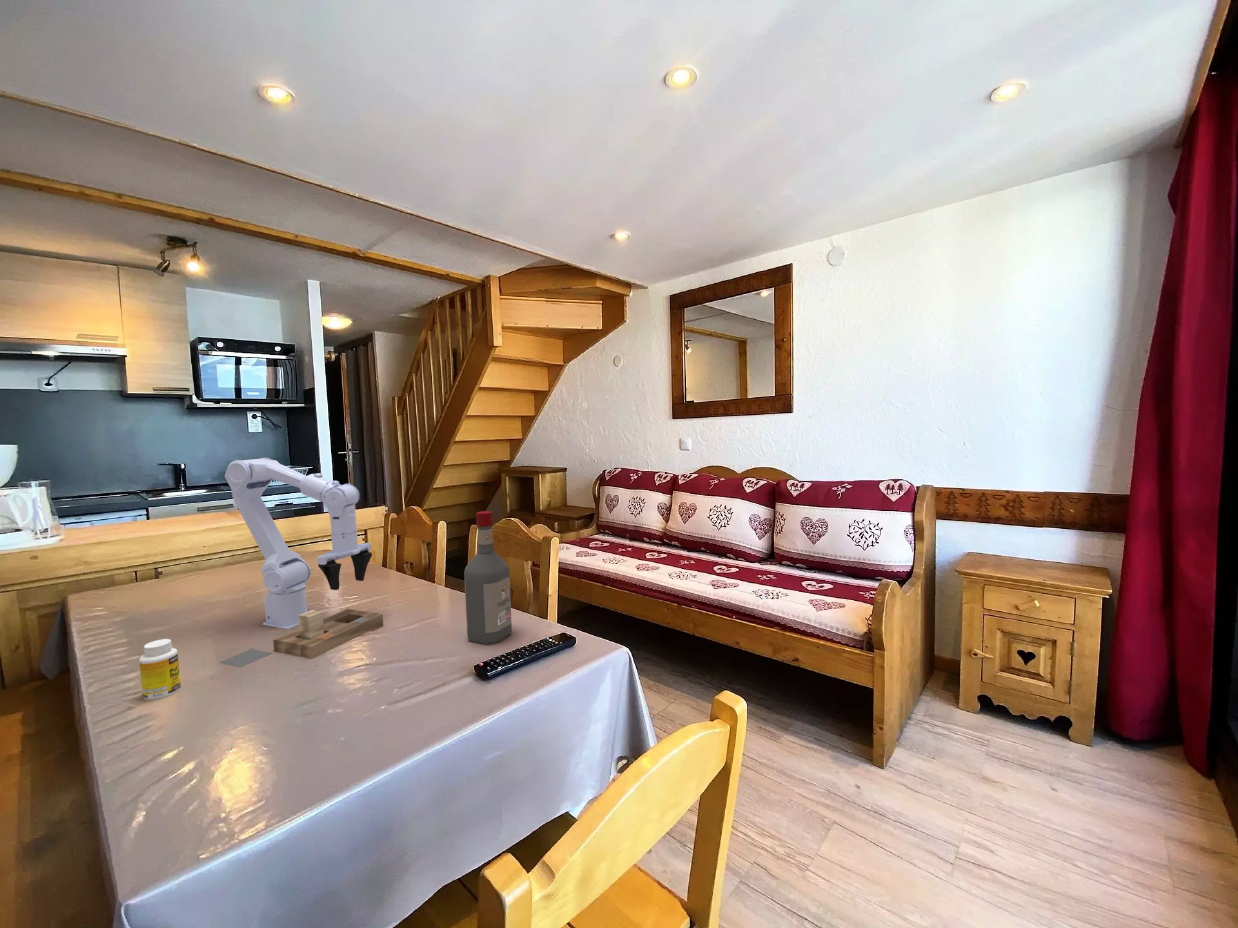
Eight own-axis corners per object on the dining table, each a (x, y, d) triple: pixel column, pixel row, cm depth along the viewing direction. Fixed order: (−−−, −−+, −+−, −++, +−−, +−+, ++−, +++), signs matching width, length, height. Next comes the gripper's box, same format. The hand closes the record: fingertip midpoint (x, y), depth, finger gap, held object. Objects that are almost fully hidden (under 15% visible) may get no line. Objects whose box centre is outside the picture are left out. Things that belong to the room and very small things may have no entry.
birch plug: (301, 648, 119) (298, 615, 119) (314, 642, 122) (312, 609, 122) (311, 651, 118) (309, 616, 117) (325, 644, 121) (322, 611, 120)
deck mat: (218, 664, 112) (218, 662, 112) (251, 650, 119) (251, 648, 119) (240, 668, 110) (240, 667, 110) (272, 654, 116) (272, 653, 116)
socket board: (274, 652, 118) (273, 639, 117) (348, 619, 136) (347, 608, 136) (312, 659, 113) (311, 646, 113) (383, 625, 132) (382, 613, 132)
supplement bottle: (176, 697, 99) (170, 645, 98) (138, 704, 96) (132, 651, 96) (185, 684, 104) (180, 634, 103) (149, 690, 101) (144, 640, 101)
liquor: (516, 631, 126) (511, 510, 124) (492, 646, 118) (487, 516, 116) (486, 626, 130) (481, 508, 128) (461, 640, 122) (455, 514, 119)
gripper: (330, 539, 123) (334, 595, 124) (378, 527, 137) (381, 577, 138) (309, 538, 126) (313, 592, 127) (358, 526, 139) (361, 575, 140)
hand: (347, 584), depth 132 cm, fingers open, 7 cm apart
